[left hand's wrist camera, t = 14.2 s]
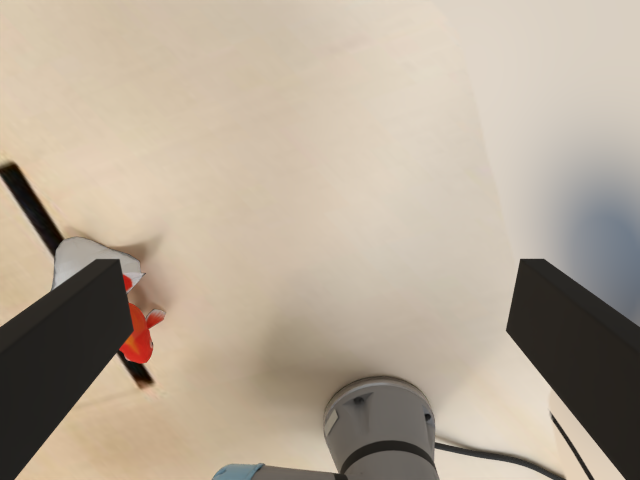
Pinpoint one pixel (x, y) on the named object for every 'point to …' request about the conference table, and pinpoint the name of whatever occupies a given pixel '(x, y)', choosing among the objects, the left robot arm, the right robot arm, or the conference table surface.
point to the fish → (84, 251)
